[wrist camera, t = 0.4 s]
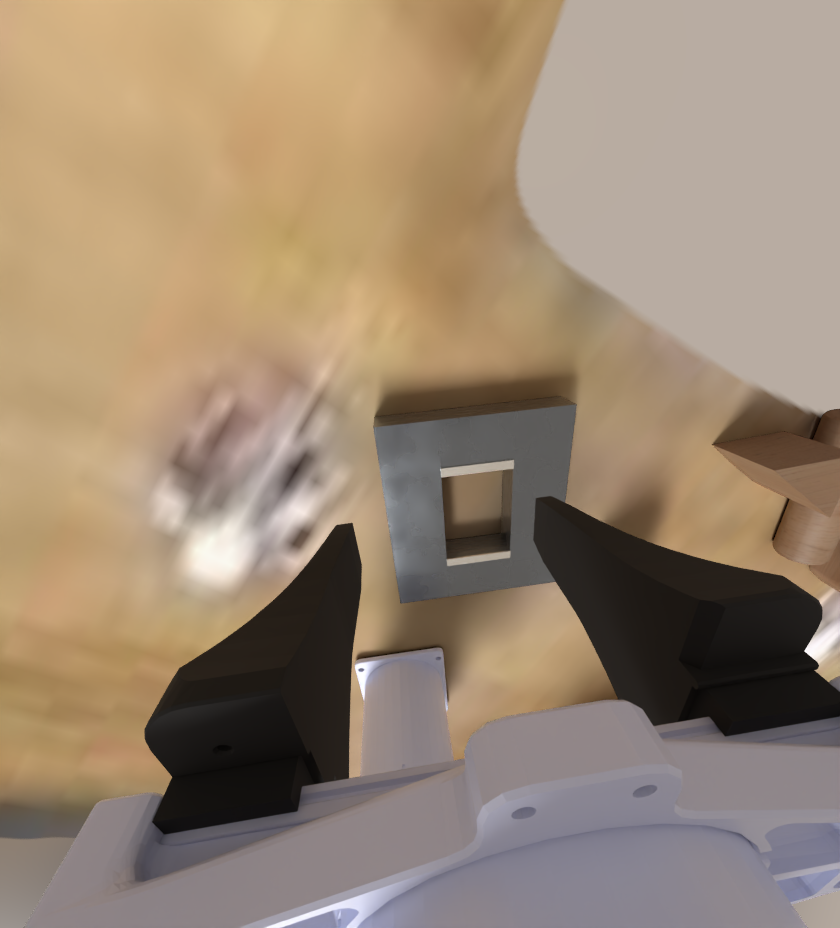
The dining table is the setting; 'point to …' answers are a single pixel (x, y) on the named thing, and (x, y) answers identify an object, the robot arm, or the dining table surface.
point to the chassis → (467, 452)
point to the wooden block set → (800, 490)
